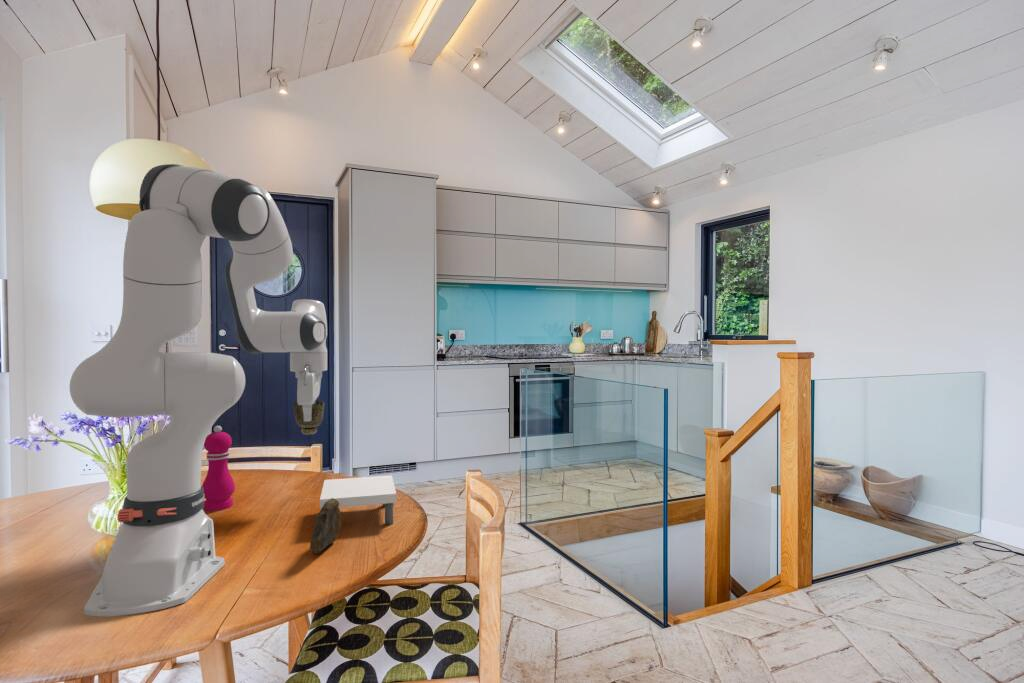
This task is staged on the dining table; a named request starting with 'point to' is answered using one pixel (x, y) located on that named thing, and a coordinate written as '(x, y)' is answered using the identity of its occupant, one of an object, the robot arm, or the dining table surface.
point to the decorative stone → (326, 526)
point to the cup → (317, 417)
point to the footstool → (362, 493)
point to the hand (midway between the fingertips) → (309, 418)
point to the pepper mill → (218, 472)
